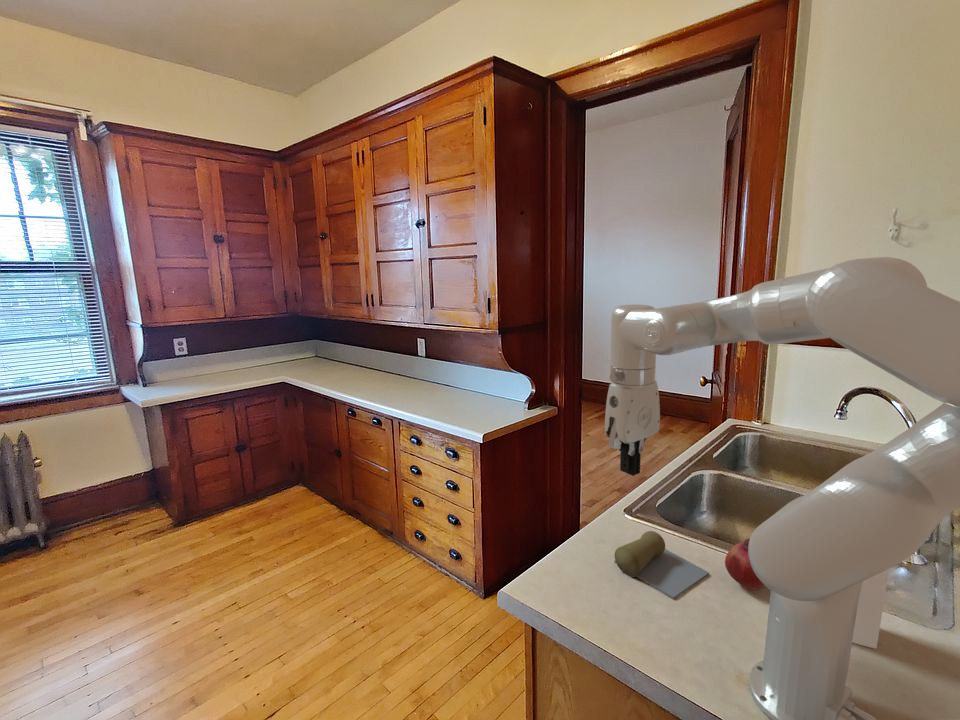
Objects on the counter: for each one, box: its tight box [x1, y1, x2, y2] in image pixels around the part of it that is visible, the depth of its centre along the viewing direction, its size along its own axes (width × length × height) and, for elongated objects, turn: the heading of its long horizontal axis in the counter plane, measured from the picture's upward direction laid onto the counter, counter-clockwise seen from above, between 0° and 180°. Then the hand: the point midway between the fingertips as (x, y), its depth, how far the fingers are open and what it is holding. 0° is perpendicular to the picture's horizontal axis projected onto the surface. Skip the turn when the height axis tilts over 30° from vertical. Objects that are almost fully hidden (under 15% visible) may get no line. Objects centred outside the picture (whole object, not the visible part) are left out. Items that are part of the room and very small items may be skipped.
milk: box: [852, 569, 890, 650], centre depth 78 cm, size 6×6×22 cm
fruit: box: [724, 537, 766, 590], centre depth 91 cm, size 8×8×10 cm
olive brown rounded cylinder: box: [614, 530, 666, 577], centre depth 99 cm, size 6×6×11 cm
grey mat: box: [614, 548, 710, 600], centre depth 97 cm, size 14×12×1 cm
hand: (630, 471), depth 86 cm, fingers closed
